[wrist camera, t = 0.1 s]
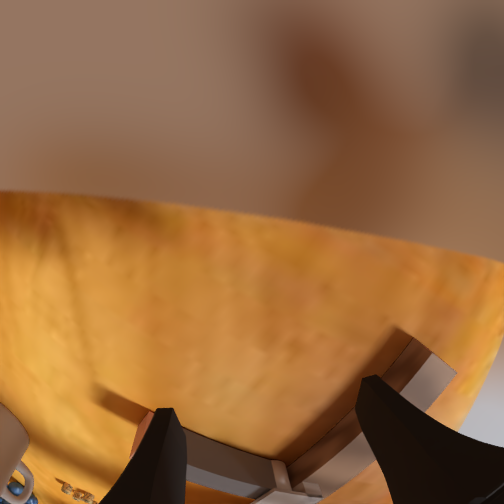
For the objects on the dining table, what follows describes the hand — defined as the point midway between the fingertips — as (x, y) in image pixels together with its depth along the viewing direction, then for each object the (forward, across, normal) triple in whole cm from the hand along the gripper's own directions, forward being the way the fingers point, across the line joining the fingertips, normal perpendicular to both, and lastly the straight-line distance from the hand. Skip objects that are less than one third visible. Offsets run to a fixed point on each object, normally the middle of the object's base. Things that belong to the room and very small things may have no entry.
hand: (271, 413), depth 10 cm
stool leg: (+8, +4, +16) cm, 18 cm away
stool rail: (+8, -8, +16) cm, 19 cm away
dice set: (+7, +26, +29) cm, 40 cm away
